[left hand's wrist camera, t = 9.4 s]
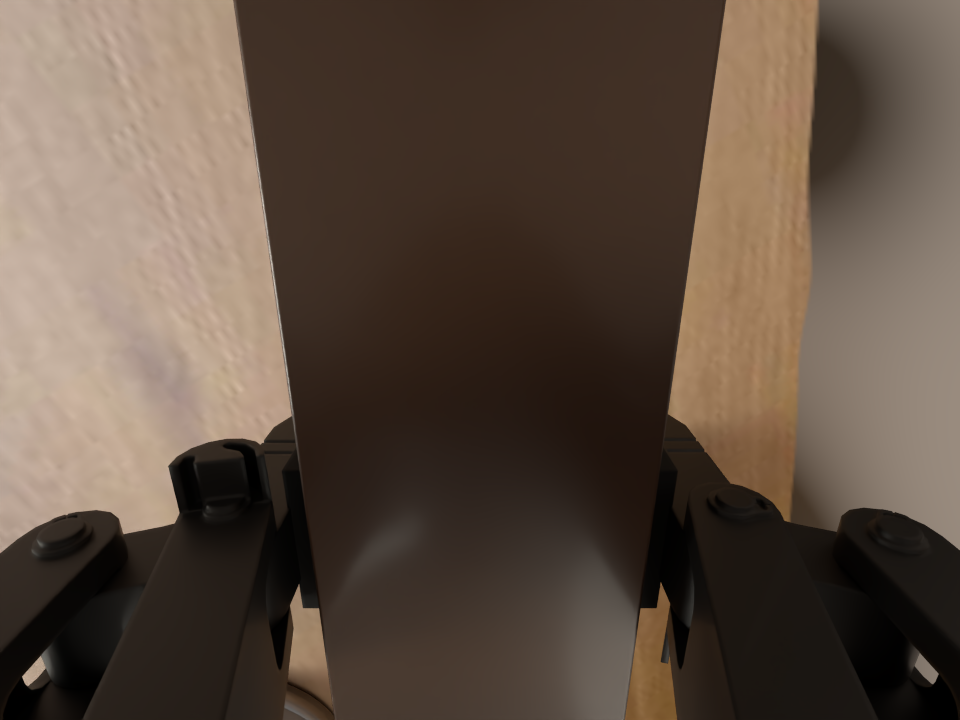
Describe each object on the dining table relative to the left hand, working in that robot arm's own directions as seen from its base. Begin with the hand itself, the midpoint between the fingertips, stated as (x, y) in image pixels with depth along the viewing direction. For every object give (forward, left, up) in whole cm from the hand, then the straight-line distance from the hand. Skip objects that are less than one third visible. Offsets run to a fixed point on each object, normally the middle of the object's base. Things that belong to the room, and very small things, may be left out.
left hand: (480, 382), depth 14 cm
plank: (+9, 0, 0) cm, 9 cm away
